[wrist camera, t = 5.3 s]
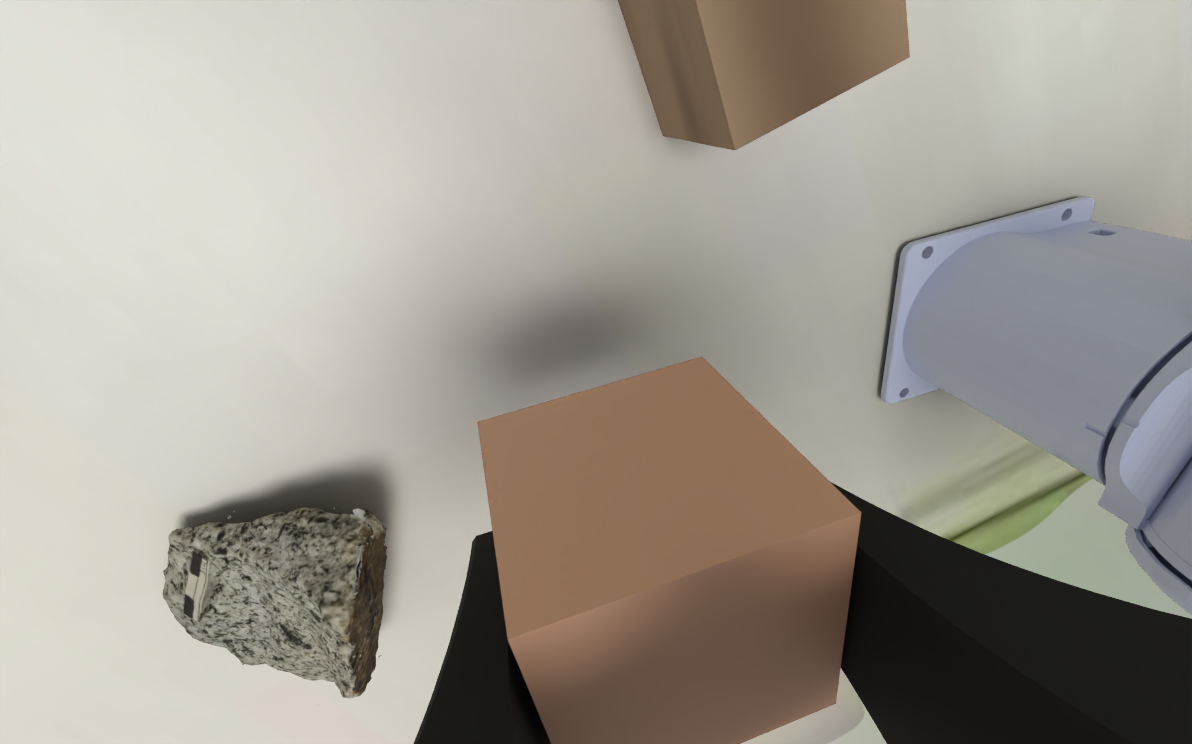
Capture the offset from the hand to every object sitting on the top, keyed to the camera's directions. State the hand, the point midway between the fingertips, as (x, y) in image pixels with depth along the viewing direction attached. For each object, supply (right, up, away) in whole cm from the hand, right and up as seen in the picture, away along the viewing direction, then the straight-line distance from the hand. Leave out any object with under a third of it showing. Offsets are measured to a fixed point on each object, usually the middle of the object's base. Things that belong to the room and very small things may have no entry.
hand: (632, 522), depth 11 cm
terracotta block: (0, +1, +1) cm, 2 cm away
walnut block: (+3, +14, +5) cm, 15 cm away
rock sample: (-13, -5, +11) cm, 18 cm away
